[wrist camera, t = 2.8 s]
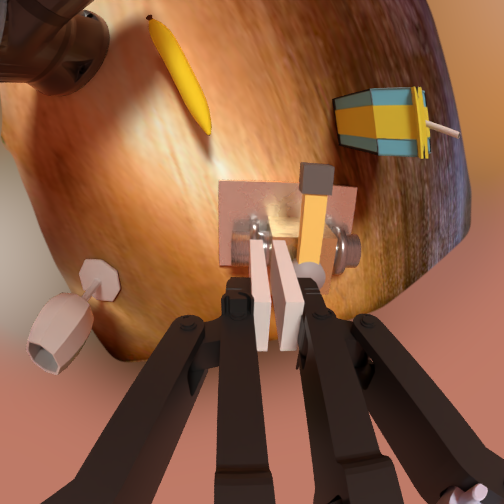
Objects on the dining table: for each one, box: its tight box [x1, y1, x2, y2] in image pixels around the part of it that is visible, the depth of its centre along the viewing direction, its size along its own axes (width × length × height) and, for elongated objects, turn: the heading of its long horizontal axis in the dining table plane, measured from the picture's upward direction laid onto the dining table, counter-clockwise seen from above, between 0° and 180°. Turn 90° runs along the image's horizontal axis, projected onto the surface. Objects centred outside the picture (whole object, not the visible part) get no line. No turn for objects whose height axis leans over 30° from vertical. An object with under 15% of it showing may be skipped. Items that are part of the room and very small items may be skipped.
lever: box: [292, 162, 335, 290], centre depth 31 cm, size 15×4×2 cm, turn 178°
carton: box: [332, 87, 460, 159], centre depth 28 cm, size 7×8×18 cm
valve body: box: [219, 180, 361, 295], centre depth 38 cm, size 20×13×10 cm, turn 88°
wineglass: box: [26, 259, 121, 375], centre depth 36 cm, size 9×9×21 cm
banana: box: [146, 15, 212, 136], centre depth 30 cm, size 3×19×6 cm, turn 24°
